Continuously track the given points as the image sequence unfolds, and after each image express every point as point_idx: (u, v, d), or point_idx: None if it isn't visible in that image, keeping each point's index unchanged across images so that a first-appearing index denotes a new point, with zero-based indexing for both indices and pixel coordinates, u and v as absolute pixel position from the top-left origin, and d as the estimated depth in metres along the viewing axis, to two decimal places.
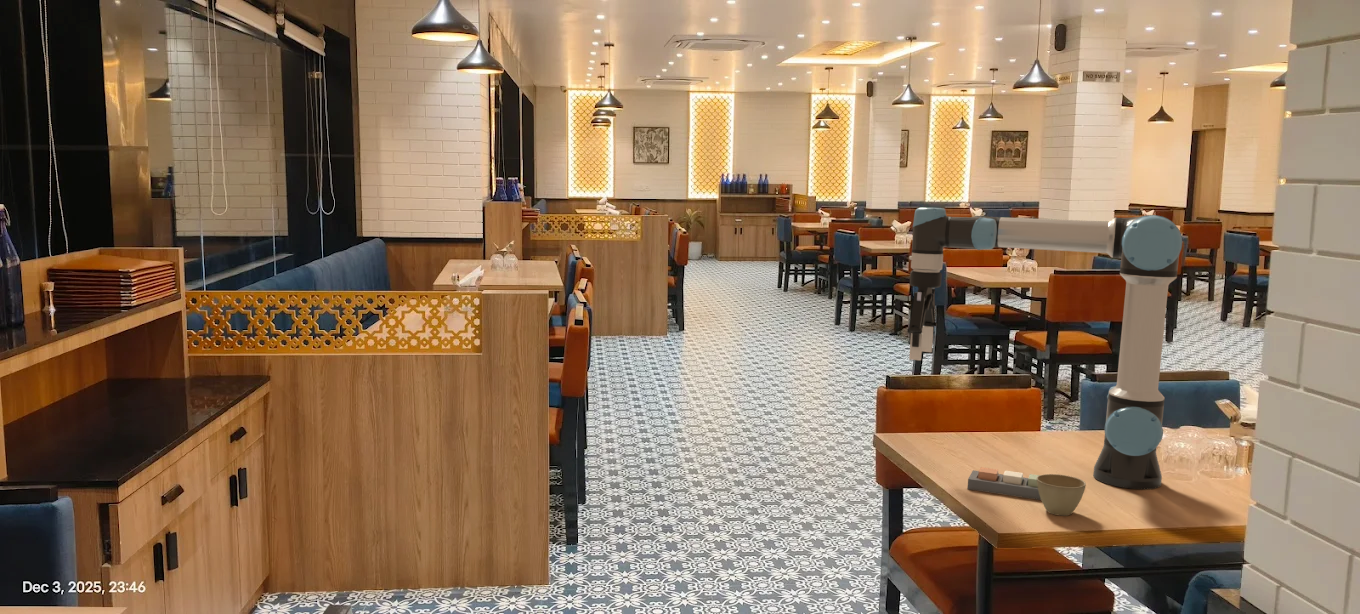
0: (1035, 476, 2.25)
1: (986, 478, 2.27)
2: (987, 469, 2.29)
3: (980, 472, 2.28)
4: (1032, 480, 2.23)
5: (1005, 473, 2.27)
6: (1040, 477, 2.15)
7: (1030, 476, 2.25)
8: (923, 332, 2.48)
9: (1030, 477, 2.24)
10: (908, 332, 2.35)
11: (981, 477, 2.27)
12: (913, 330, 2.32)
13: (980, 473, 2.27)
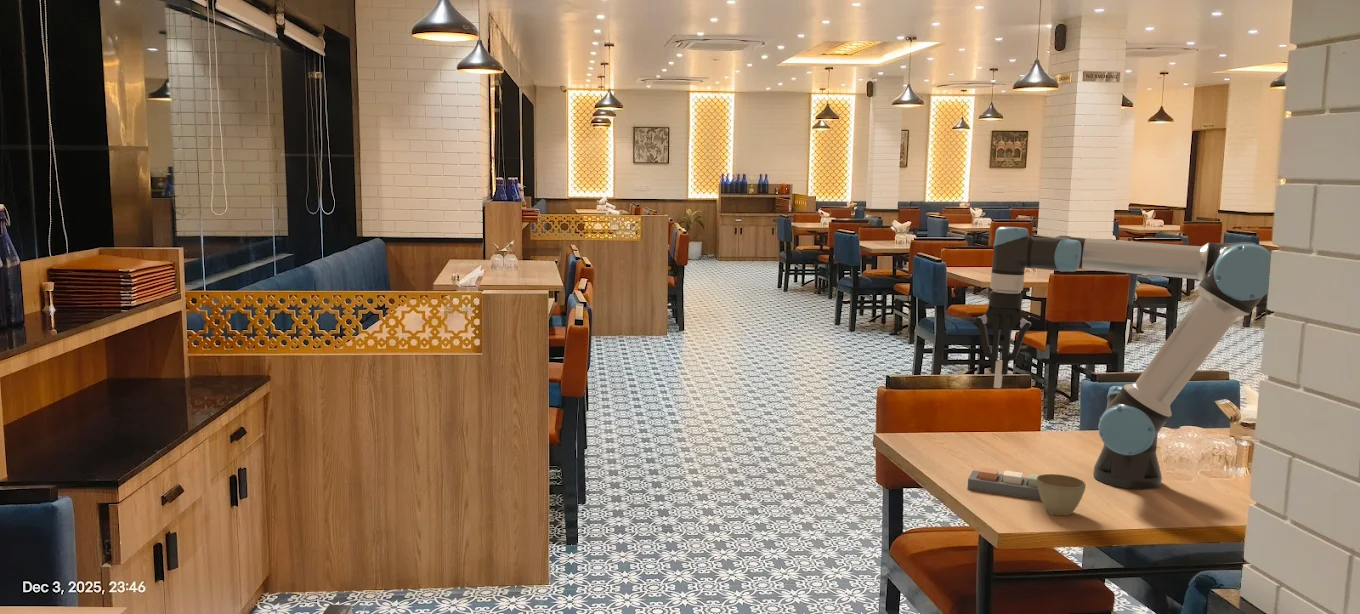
0: (1035, 476, 2.25)
1: (986, 478, 2.27)
2: (987, 469, 2.29)
3: (980, 472, 2.28)
4: (1032, 480, 2.23)
5: (1005, 473, 2.27)
6: (1040, 477, 2.15)
7: (1030, 476, 2.25)
8: None
9: (1030, 477, 2.24)
10: None
11: (981, 477, 2.27)
12: None
13: (980, 473, 2.27)
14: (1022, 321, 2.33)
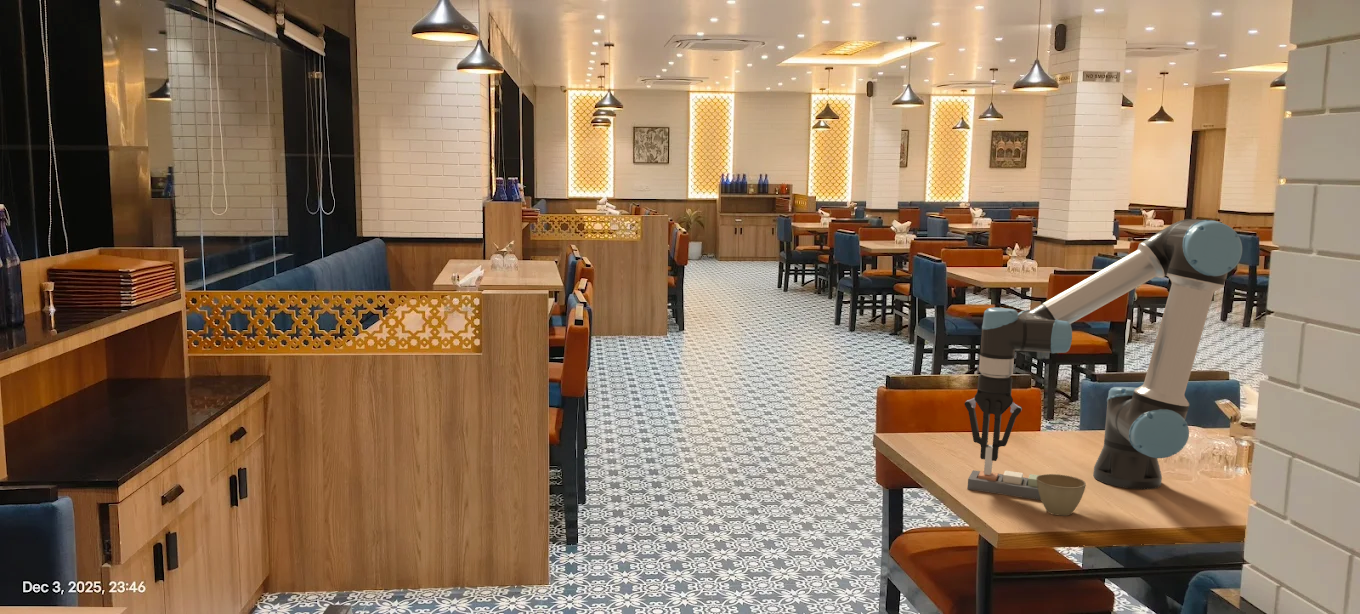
0: (1035, 476, 2.25)
1: None
2: None
3: (980, 476, 2.28)
4: (1032, 480, 2.23)
5: (1005, 473, 2.27)
6: (1040, 477, 2.15)
7: (1030, 476, 2.25)
8: None
9: (1030, 477, 2.24)
10: None
11: None
12: None
13: (980, 477, 2.28)
14: (1012, 406, 2.24)
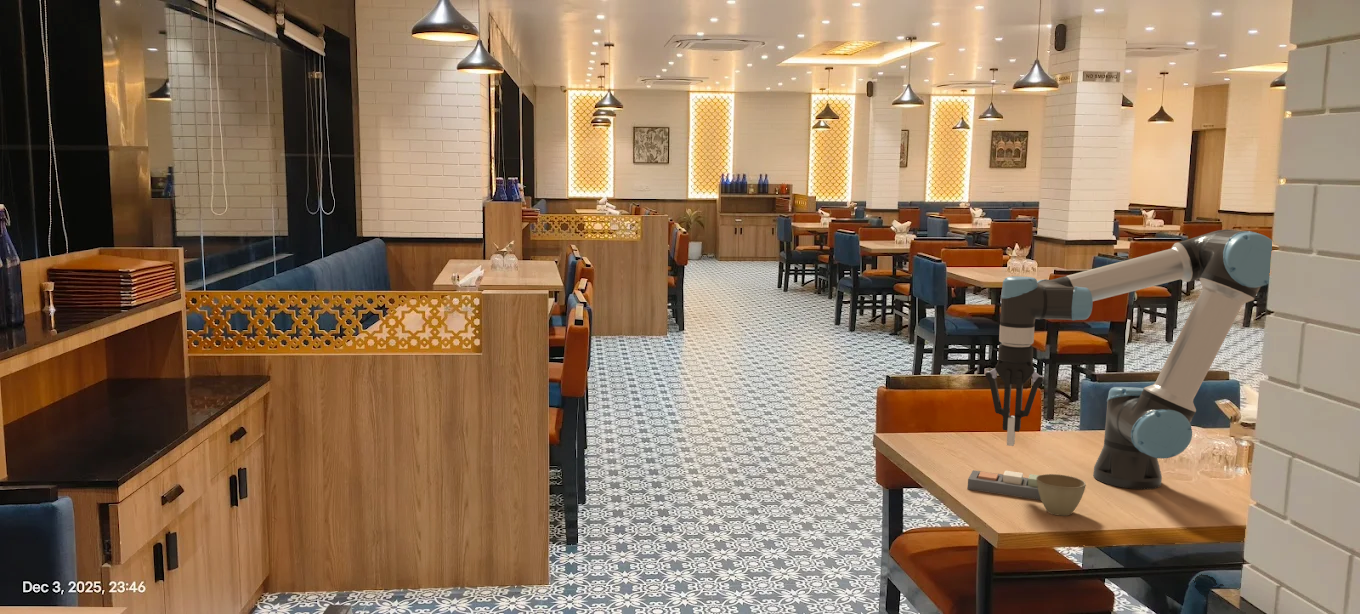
0: (1035, 476, 2.25)
1: None
2: (986, 474, 2.29)
3: (980, 477, 2.28)
4: (1032, 480, 2.23)
5: (1005, 473, 2.27)
6: (1040, 477, 2.15)
7: (1030, 476, 2.25)
8: None
9: (1030, 477, 2.24)
10: None
11: None
12: None
13: (980, 478, 2.28)
14: (1034, 375, 2.22)
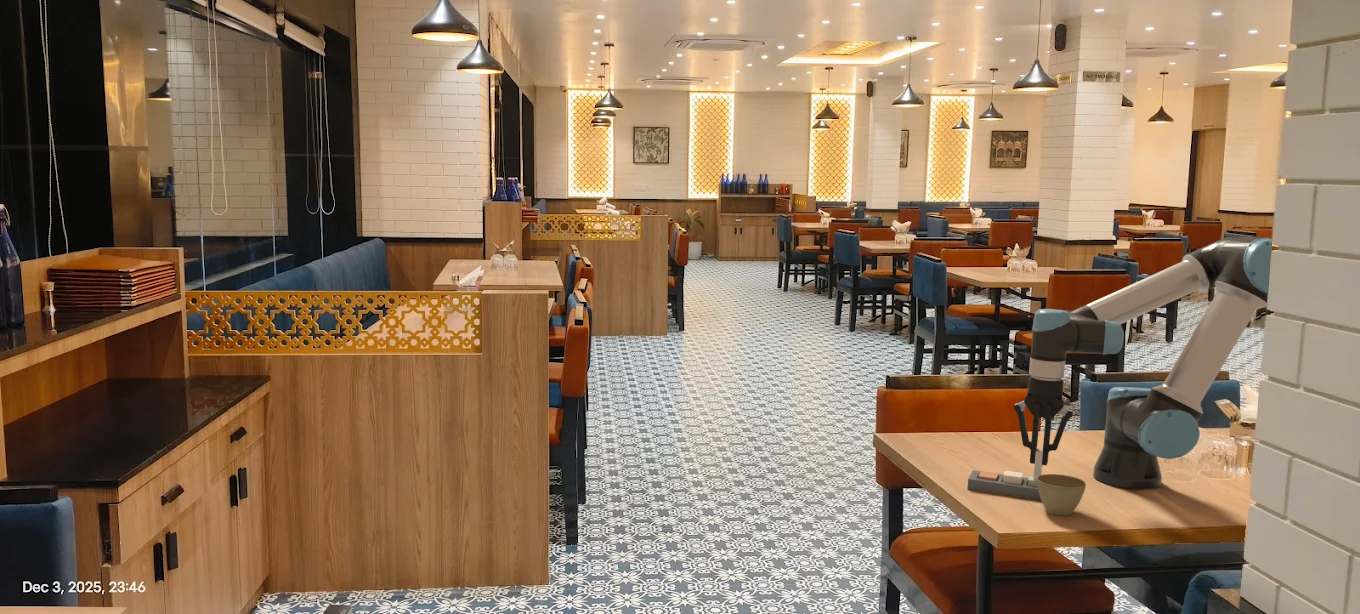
0: None
1: None
2: (986, 474, 2.29)
3: (980, 477, 2.28)
4: (1032, 482, 2.23)
5: (1005, 473, 2.27)
6: (1040, 477, 2.15)
7: (1030, 477, 2.25)
8: None
9: (1030, 478, 2.24)
10: None
11: None
12: None
13: (980, 478, 2.28)
14: (1064, 409, 2.20)
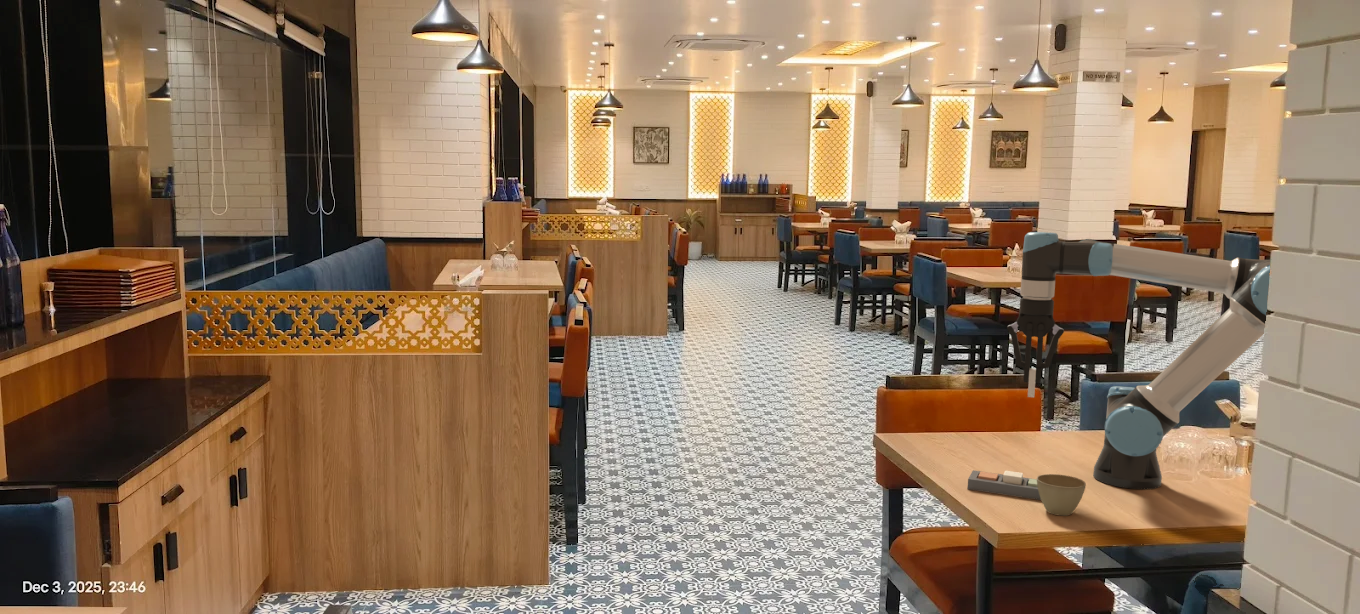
0: (1035, 481, 2.25)
1: None
2: (986, 474, 2.29)
3: (980, 477, 2.28)
4: (1031, 485, 2.23)
5: (1005, 473, 2.27)
6: (1040, 477, 2.15)
7: (1030, 481, 2.25)
8: None
9: (1030, 482, 2.24)
10: None
11: None
12: None
13: (980, 478, 2.28)
14: (1055, 328, 2.28)
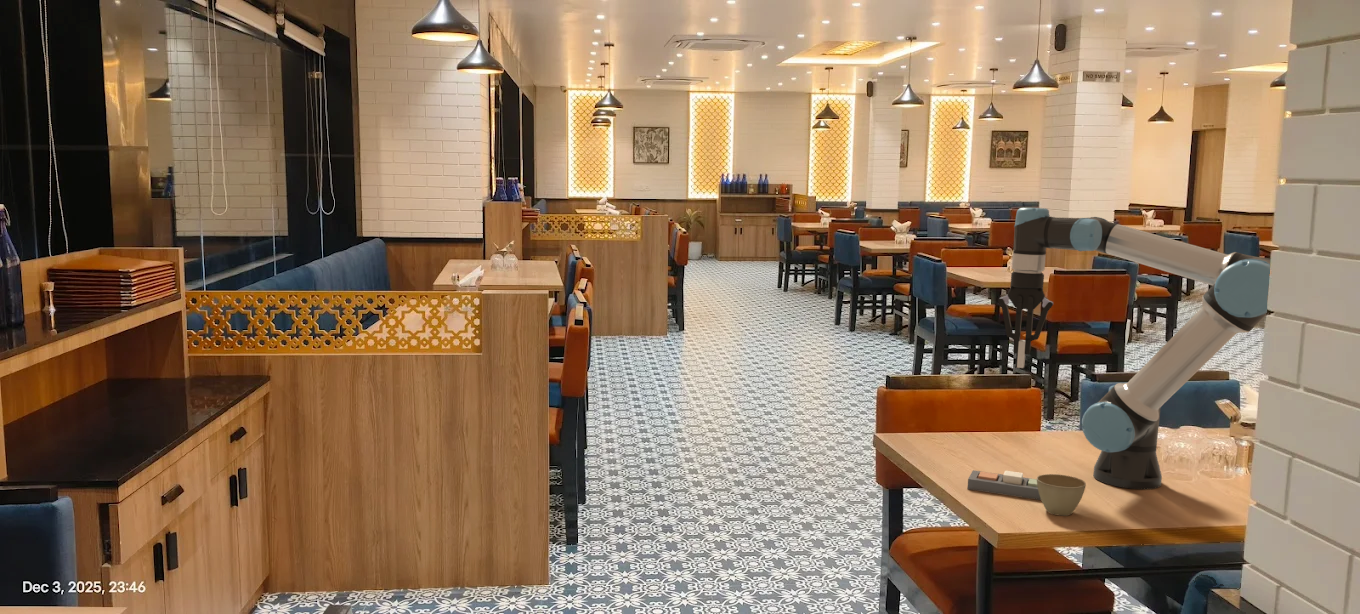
0: (1035, 481, 2.25)
1: None
2: (986, 474, 2.29)
3: (980, 477, 2.28)
4: (1031, 485, 2.23)
5: (1005, 473, 2.27)
6: (1040, 477, 2.15)
7: (1030, 481, 2.25)
8: None
9: (1030, 482, 2.24)
10: None
11: None
12: None
13: (980, 478, 2.28)
14: (1044, 301, 2.35)
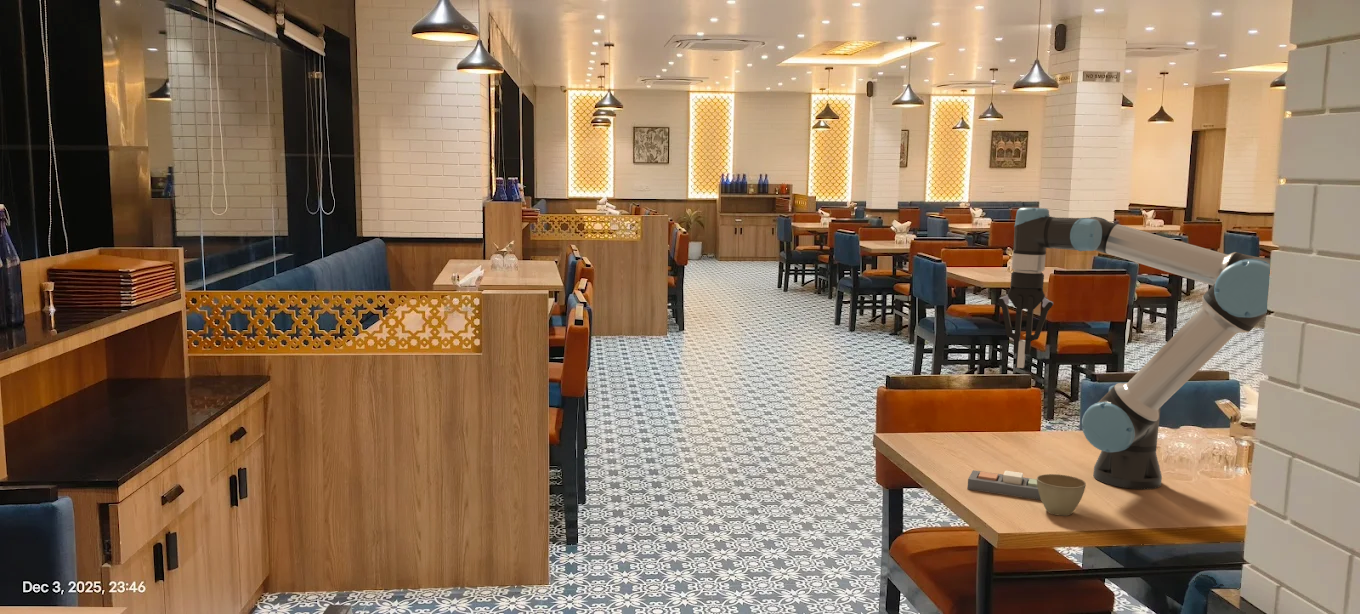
0: (1035, 481, 2.25)
1: None
2: (986, 474, 2.29)
3: (980, 477, 2.28)
4: (1031, 485, 2.23)
5: (1005, 473, 2.27)
6: (1040, 477, 2.15)
7: (1030, 481, 2.25)
8: None
9: (1030, 482, 2.24)
10: None
11: None
12: None
13: (980, 478, 2.28)
14: (1044, 301, 2.35)
